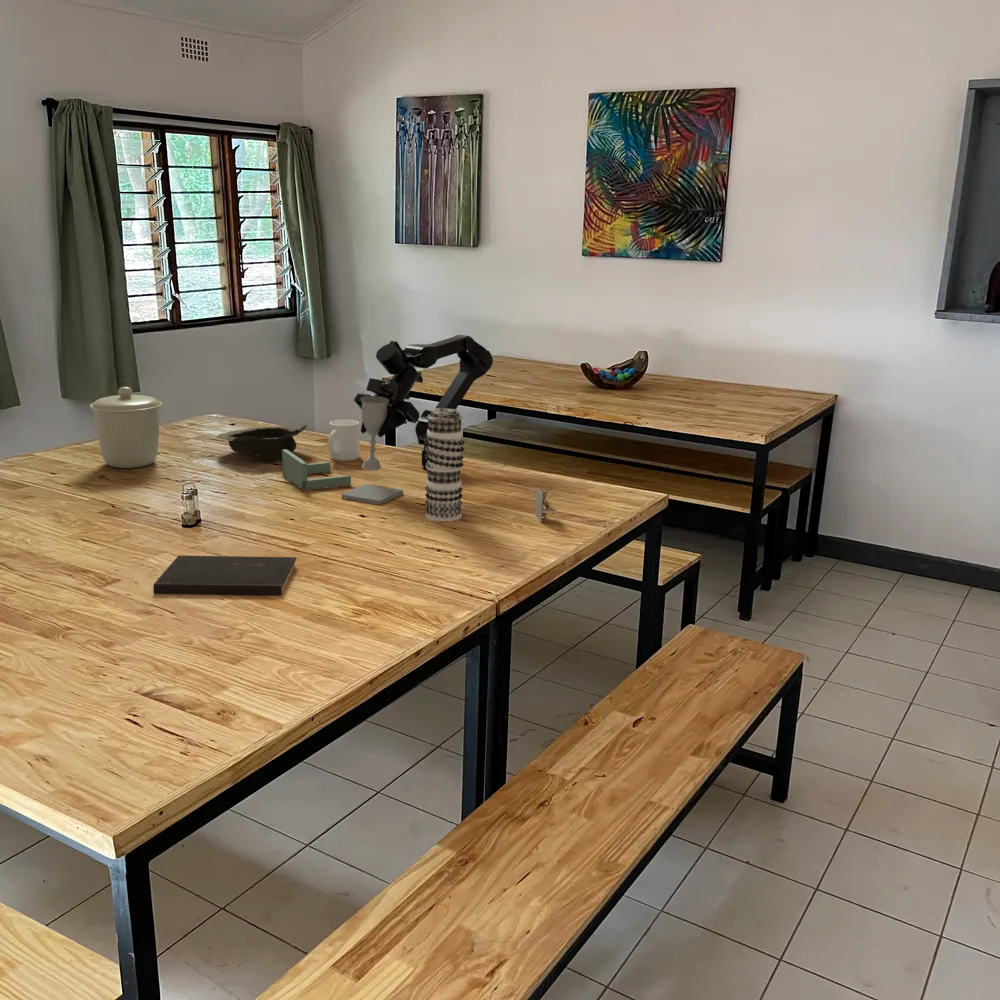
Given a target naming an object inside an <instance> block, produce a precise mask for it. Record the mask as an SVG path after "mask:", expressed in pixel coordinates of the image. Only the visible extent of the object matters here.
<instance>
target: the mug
mask: <svg viewBox="0 0 1000 1000" xmlns="http://www.w3.org/2000/svg"><path fill="white" fill-rule="evenodd" d="M360 440H361V439H360V421H358V420H354V419H335V420H331V421H329V437H328V442H327V446H328V447H327V448H328V451H329V454H330V458H331V460H334V461H336V460H337V462H352V461H356V459H357V460H358V459H359V458H360V455H361V454H360V453H361V450H360V448H361V447H360V446H361V445H360V442H361V441H360Z"/></svg>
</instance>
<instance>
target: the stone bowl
mask: <svg viewBox="0 0 1000 1000" xmlns="http://www.w3.org/2000/svg"><path fill="white" fill-rule="evenodd" d="M307 427H308V425H307V424H305V425H301V426H299V427H298V426H296V425H295V426H288V425H287V426H286V425H285V426H284V425H279V426H272V425H271V426H260V427H250V428H249V427H248V428H243V429H237V430H231V431H228V432H226V433H225V432H223V433H220V434H218V435H217V436H216V437H215V438H217V439H220V440H225V441H228V445H229V447H230V449H231V450H232V451H233V452H235V453H242V454H251V455H252V456H259V457H260V461H261V462H262V463H265V464H268V463H269V462H270V463H275V462H277V461H282V450H285V449H287V450H288V451H290V452H291V453H293V454H294V451H295V450H296V449H297V443H296V440H295V438H294V436H297V435H299V434H300V433H301V432H303V431H304V430H305V429H307Z"/></svg>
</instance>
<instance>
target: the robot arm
mask: <svg viewBox="0 0 1000 1000" xmlns="http://www.w3.org/2000/svg"><path fill="white" fill-rule="evenodd" d="M455 354H456V355H457V357H458V358H459V371H458V373H456V376H455V377H454V379H453V381H452V382H451V383H450V385H449V387H447V389H446V391H445V392H444V394H443V395H442V397H441V399H440V400H439V402H438V403H437V405H436V406H435V408H433V409H432V410H429V409H424V410H423V412H422V413H421V416H420V412H419V410H418V409H417V408H416V406H415V405H414V404H413V403H412V402H411V401H407V400H410V398H411V395H410V392H411V390H412V388H413V387H414V385H415V383H420V384H422V383H423V381H424V379H423V376H422V372H421V371H418V370H417V369H416V368H418V369H429V368H430V367H432V366H434V365H435V364H436V363H437V361H438V360H440V359H442V358H446V357H449V356H452V355H455ZM375 357H376V360H377V361H378V362H379V364H380V365H381V366H382V367H383V368H384V370H385V372H387V373H388V374H389V375H392V377H391V378H386V379H385V380H382V379H378V378H372V377H369V379H368V383H367V385H366V389H365V390H366V391H367V392H371V393H373V394H374V395H373V396H380V397H385V398H387V399H389V400H390V401H389V403H388V404H387V417H386V419H385V421H384V423H383V425H382V427H381V428H380V430H379V433H378V435H377V437H378V438H382V437H384V436H385V435H387V434H389V433H390V432H392V431H394V430H395V429H397V428H399V427H401V426H402V425H406V424H408V423H412V424H416V425H415V429H414V430H415V435H416V437H417V438H416V440H417V443H418V445H422V446H423V449H421V466H422V469H423V470H428V469H427V468H426V465H425V464H426V462H427V461H428V460H426V458H425V455H426V451H425V448H426V446H427V445H426V444H425V442H424V440H425V438H426V437H425V436H424V435H426V434H425V433H427V429H428V417H427V416H428V415H430V414H431V412H432V411H433V410H435V409H440V408H449V409H454V410H457V408H458V407H459V405H461V402H462V400H463V399H464V398H465V396H466V395H467V392H468V391H470V388H471V387H472V385H473V383H474V382H475V381H476V380H478V379H480V378H482V377H483V376H485V375H486V374H487V372H488V371H489V370H490V369H491V368H492V365H493V364H494V363H493V362H494V358H493V356H492V353H491V352H490V351H489V350H487V348H486V347H484V346H483V345H481V344H480V343H478V342H477V341H475V340H474V338H473V337H472V336H470V335H463V334H456V335H453V336H452V337H449V338H446V339H442V340H439V341H436V342H432V343H427V344H425V343H424V344H423V343H421V344H419V343H416V344H415V343H414V344H408V345H406V346H405V347H404V348H403V349H402V347H401V346H400V344H399V343H398V341H397V340H395V341H394V340H390V341H389V342H388V343H387V344H384V345H383V346H381V347H380V348H379V349H378V350H377V352H376V354H375ZM364 396H372V395H371V394H368V393H364V392H363V393H362V392H361V393H357V394H356V395H355V397H354V399H353V402H354V403H355V404H356V405H357V406H358V407H359V408H360V410H362V401H361V399H360V398H361V397H364ZM405 400H406V401H405ZM360 432H361V434H363V435H364V434H365V433H366V432H367V430H366V428H365V426H364V423H363V421H362V422H361V427H360ZM428 442H429V440H428Z"/></svg>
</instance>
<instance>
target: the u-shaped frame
mask: <svg viewBox="0 0 1000 1000" xmlns="http://www.w3.org/2000/svg"><path fill="white" fill-rule="evenodd" d="M281 462H282V476H283V477H284V476H285V477H286V479H287V480H290V481H289V482H291V483H292V482H293V483H294V484H293V483H292V484H293V485H295V486H296V485H297V486H298V487H297V486H296V487H297V488H299V489H300V488H301V489H302V490H303V492H305V491H304V490H307V491H311V490H310V489H316V490H319V489H318V488H325V487H326V488H325V489H328V488H327V487H333V488H337V487H336V486H342V487H347V486H346V485H351V486H352V475H350V474H345V475H337V476H328V477H318V478H310V479H309V478H308V475H311V474H310V473H314V474H320V473H319V472H324V473H331V472H332V471H331V462H330V461H323V462H322V461H321V462H313V463H307V462H306V461H304V460H303V459H302V458H300V457H299V456H297V455H295V454H294V453H291V452H290V451H288V450H287V449H285V450H282V460H281ZM285 477H284V478H285ZM334 486H335V487H334ZM301 489H300V490H301ZM302 490H301V491H302Z"/></svg>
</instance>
